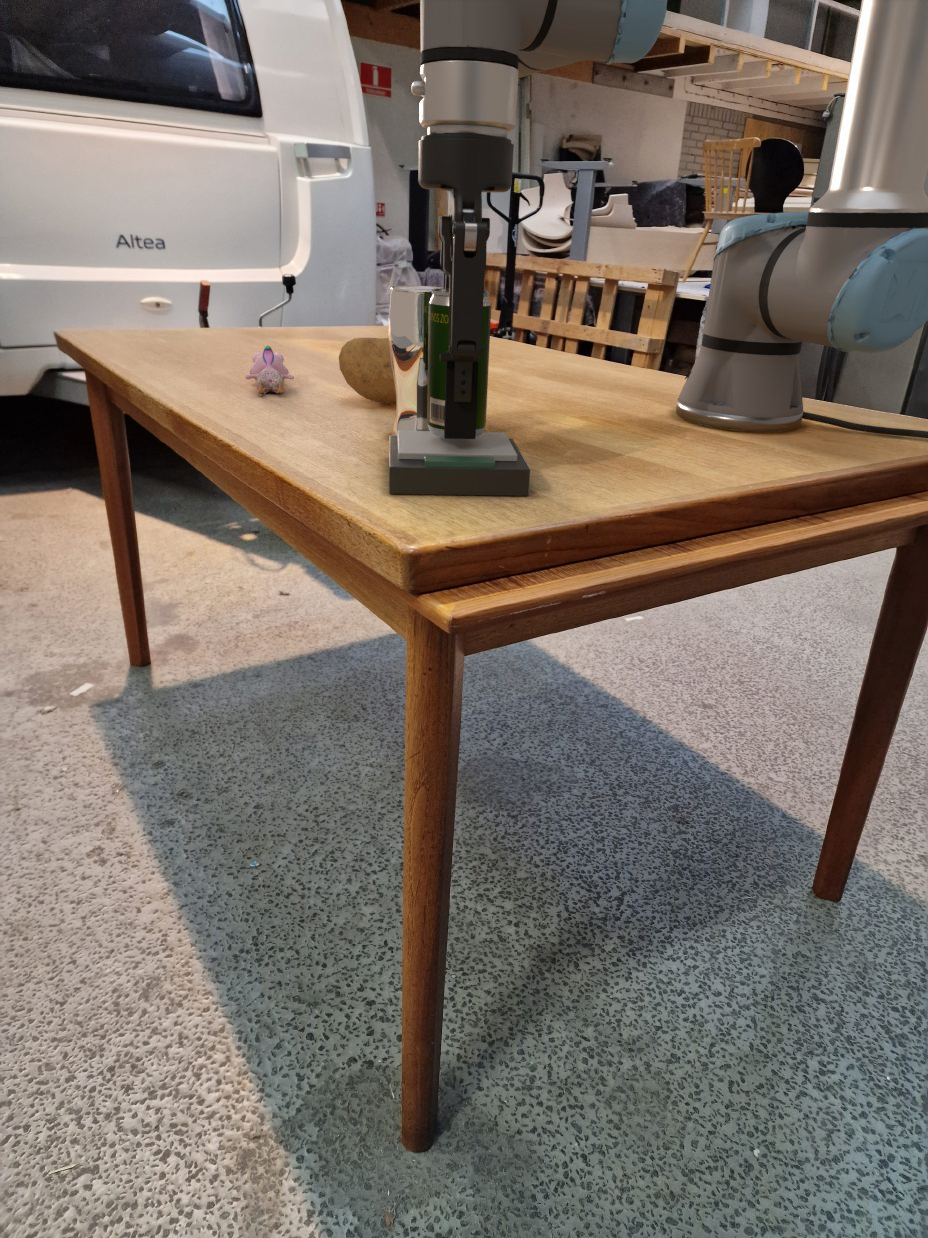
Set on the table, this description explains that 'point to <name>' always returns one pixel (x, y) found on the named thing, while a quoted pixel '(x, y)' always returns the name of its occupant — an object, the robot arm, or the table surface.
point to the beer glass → (410, 354)
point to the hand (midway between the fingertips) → (457, 429)
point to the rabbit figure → (269, 371)
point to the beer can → (437, 368)
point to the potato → (369, 368)
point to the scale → (456, 465)
